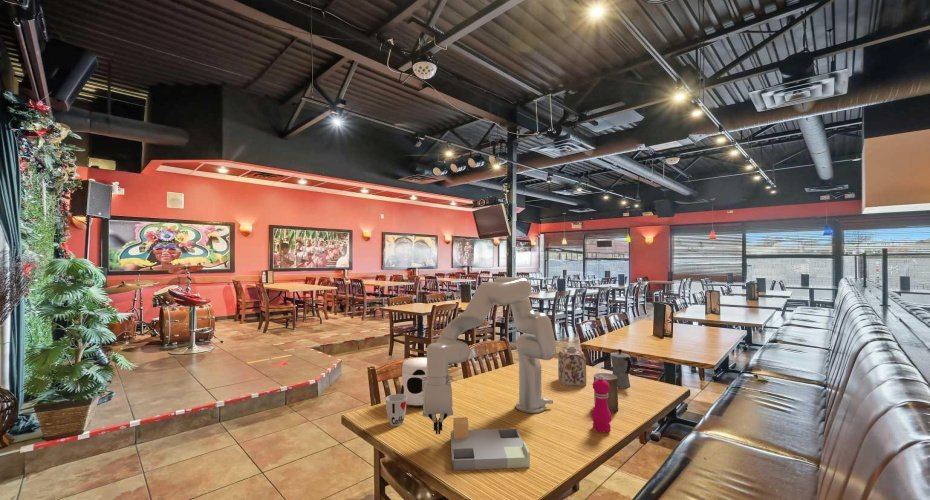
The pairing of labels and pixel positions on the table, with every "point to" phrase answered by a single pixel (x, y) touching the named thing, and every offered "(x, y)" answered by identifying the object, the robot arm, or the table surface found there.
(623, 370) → the coffeepot
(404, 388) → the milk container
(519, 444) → the grey sorting tray
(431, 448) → the table surface
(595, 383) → the pepper mill
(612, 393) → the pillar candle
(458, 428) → the block
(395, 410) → the cup
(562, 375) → the decorative jar
